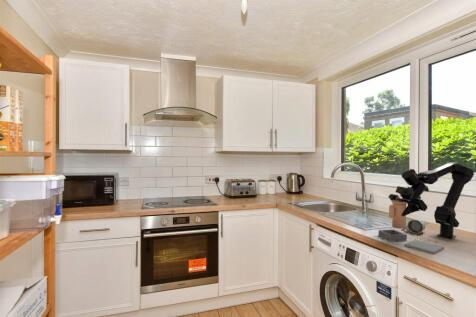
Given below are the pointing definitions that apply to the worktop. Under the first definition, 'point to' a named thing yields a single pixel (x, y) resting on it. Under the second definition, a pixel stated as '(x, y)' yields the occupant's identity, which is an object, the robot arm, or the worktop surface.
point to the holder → (393, 235)
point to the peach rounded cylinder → (398, 214)
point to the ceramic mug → (415, 226)
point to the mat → (424, 246)
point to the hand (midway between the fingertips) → (396, 214)
